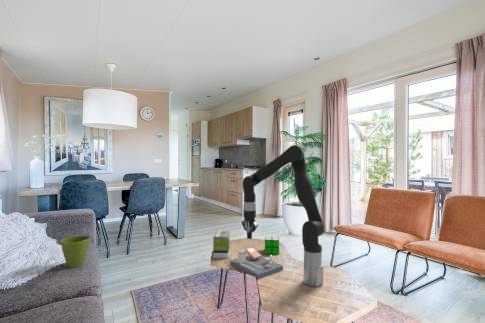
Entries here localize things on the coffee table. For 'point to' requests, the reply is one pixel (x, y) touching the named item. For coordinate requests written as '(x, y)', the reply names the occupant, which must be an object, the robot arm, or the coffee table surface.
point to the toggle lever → (269, 259)
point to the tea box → (221, 244)
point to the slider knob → (242, 256)
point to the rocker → (253, 253)
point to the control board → (257, 266)
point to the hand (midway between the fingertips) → (249, 238)
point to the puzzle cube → (271, 245)
